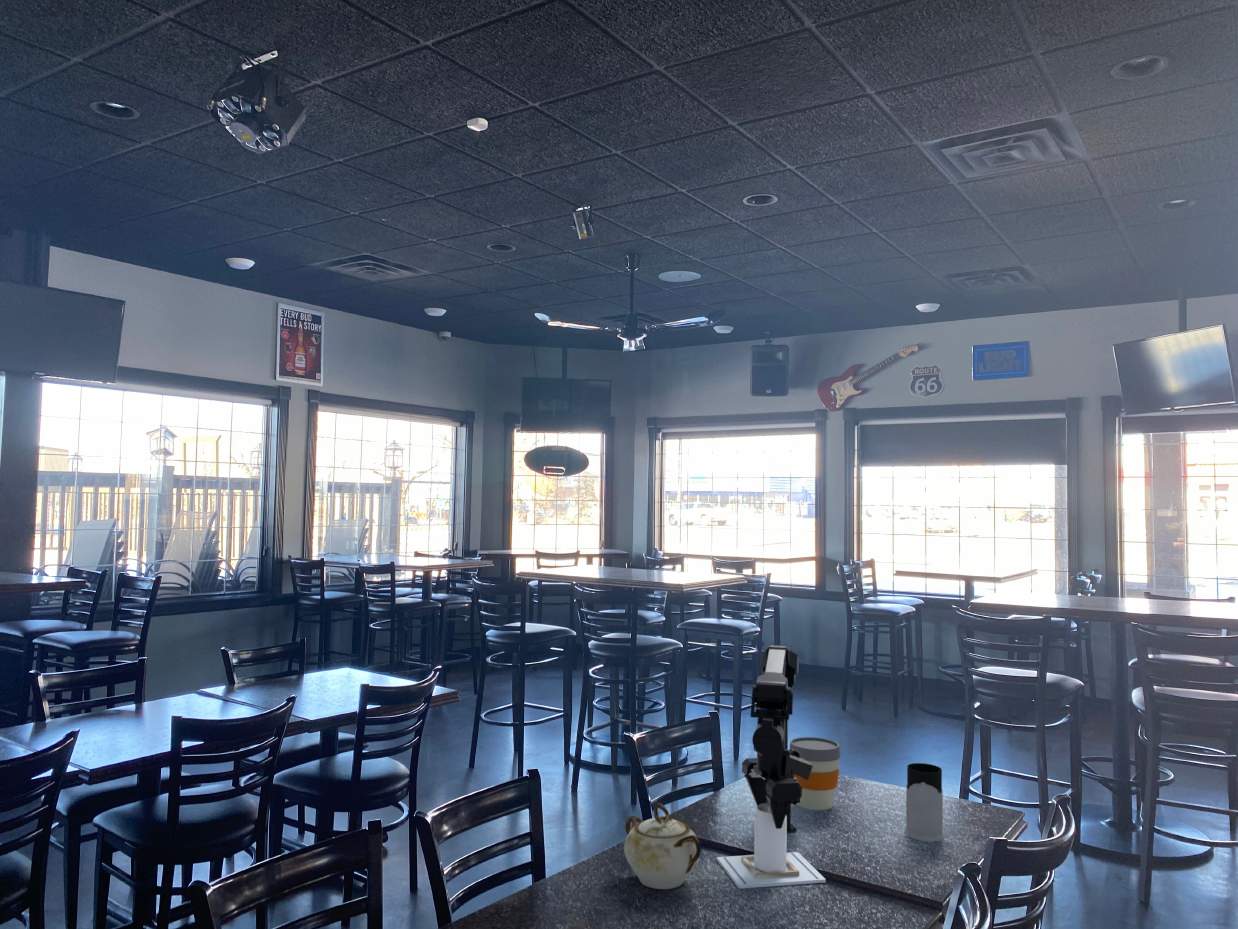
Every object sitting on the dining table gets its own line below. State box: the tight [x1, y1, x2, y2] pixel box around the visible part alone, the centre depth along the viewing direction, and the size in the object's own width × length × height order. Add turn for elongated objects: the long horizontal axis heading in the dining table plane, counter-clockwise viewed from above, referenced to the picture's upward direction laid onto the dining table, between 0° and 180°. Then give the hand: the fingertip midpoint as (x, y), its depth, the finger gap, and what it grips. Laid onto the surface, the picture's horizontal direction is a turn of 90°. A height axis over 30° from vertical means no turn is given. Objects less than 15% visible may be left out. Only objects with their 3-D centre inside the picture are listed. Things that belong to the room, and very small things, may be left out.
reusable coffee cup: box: [788, 736, 841, 811], centre depth 224 cm, size 13×13×15 cm
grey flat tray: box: [716, 851, 826, 890], centre depth 183 cm, size 14×18×1 cm
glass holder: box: [903, 762, 945, 843], centre depth 207 cm, size 9×14×15 cm, turn 158°
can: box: [753, 803, 788, 872], centre depth 183 cm, size 6×6×12 cm
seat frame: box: [741, 855, 799, 879], centre depth 183 cm, size 9×9×1 cm
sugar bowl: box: [623, 802, 702, 890], centre depth 177 cm, size 20×15×15 cm
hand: (770, 820), depth 183 cm, fingers open, 9 cm apart
